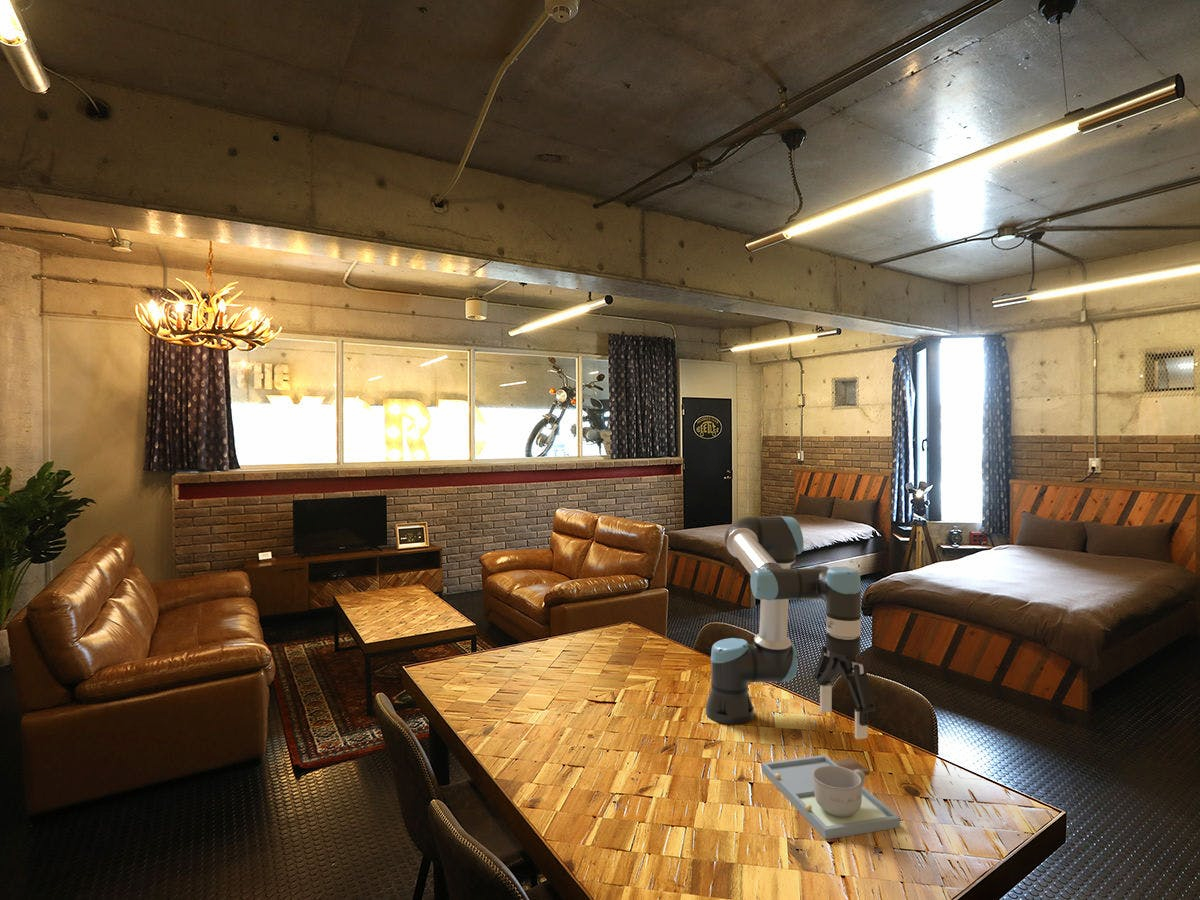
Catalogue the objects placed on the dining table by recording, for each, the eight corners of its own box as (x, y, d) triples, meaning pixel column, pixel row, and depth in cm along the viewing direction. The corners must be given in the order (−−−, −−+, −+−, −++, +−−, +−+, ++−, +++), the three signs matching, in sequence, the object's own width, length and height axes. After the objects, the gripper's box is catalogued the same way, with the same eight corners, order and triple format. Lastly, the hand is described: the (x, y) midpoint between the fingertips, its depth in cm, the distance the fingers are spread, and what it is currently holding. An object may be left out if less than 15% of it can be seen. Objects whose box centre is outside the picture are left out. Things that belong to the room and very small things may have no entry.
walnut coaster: (829, 766, 167) (829, 761, 167) (850, 761, 169) (850, 757, 169) (848, 779, 160) (848, 775, 160) (869, 774, 163) (869, 770, 163)
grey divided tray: (761, 771, 163) (761, 760, 163) (825, 762, 168) (825, 751, 168) (824, 839, 135) (824, 826, 135) (899, 827, 139) (899, 814, 139)
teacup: (830, 826, 138) (831, 791, 138) (803, 799, 148) (803, 766, 148) (883, 817, 141) (884, 782, 141) (853, 791, 152) (853, 759, 152)
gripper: (799, 620, 155) (799, 703, 156) (863, 653, 131) (862, 752, 132) (826, 618, 157) (825, 700, 158) (893, 651, 133) (892, 748, 133)
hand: (842, 724), depth 145 cm, fingers open, 13 cm apart
